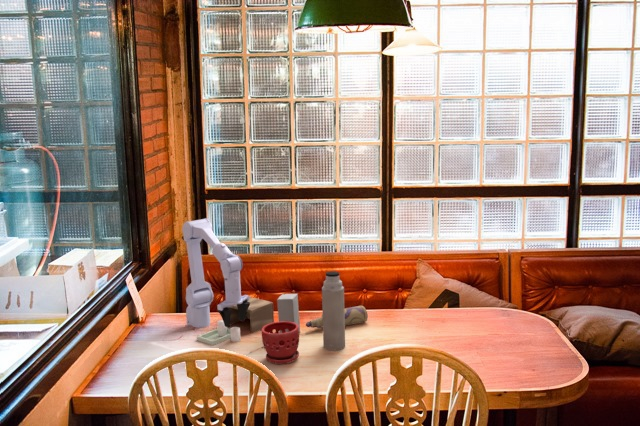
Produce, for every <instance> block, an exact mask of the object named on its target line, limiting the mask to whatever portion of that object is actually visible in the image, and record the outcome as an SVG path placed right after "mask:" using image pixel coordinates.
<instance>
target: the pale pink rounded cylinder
mask: <svg viewBox="0 0 640 426" xmlns="http://www.w3.org/2000/svg"><path fill="white" fill-rule="evenodd" d="M216 326H217V328H216V329H217V330H218V336H225V335H227V328H228V327H225V325H224V322H223V319H220V320H217V321H216Z"/></svg>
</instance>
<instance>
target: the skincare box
mask: <svg viewBox="0 0 640 426" xmlns="http://www.w3.org/2000/svg"><path fill="white" fill-rule="evenodd" d="M298 294H299V293H282V294H281V295H280V296H279V297H278V298H277V299H276V302H277V303H276V305H277V315H278V322H281V321H288V322H294V323H296V324H297V325H298V326H299V334H300V333H301V326H300V324H301V323H300V311H299V298H298V297H299V295H298ZM285 331H286V332H288V331H289V330H288V329H285ZM279 333H282V331H281V330H280V331H279Z"/></svg>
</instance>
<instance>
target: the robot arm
mask: <svg viewBox="0 0 640 426" xmlns="http://www.w3.org/2000/svg"><path fill="white" fill-rule="evenodd" d="M181 229H182V235H183V241H184V242H185V243H186V251H187V259H188V265H189V272H190V278H191V283H190V284H188V286H187V287H186V288H185V292H186V293H185V301H186V304H187V307H186V309H185V310H186V311H185V314H186V315H185V316H186V324H185V327H188V326H191V327H194V328H206V327H209V326H211V314H210V306H211V305H212V302H213V300H214V292H213V290H212V287H211V286H212V285H211V283H210V282H207V281H205V273H204V266H203V258H202V251H201V244H200V243H201V242H202V240H204V241H205V242H206V244H207V245H209V246H210V247H211V249H212V251H211V252H212V254H213V255H214V257H215V259H216V260H217V261H218V263H220V270H221V271H222V276H223V278H224V290H225V292H224V293H225V294H224V295H225V300H224V301H222V302H220V303H219V304H217V306H216V307H217V313H219V315H220V316H221V318H222V319H221V320H223V322H224V325H225V327H227V328H231V325H230V316H231V312H232V310H229V309H228V307H231V306H233V305H236V304H237V307H238V312H239V320H240V321H239V322H245V321H246V319H245V317H246V312H247V310H248V307H249V306H250V302H247V301H249V297H250V295H248V294H244V295H242V291H241V290H242V287H241V271H242V270H243V265H244V264H243V260H242V258H241V257H240V255H236V254H234V253H233V252H232V251H231V250H230V249H229V247H228V246H227V245H226V244H225V243H223V242H221V241H219V239H218V237H217V236H216V235H215V233H214V232H213V225H212V223H211V221H210V219H208V218H207V217H205V218H202V219H196V220H191V221H184V223H183V225H182V227H181Z"/></svg>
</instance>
